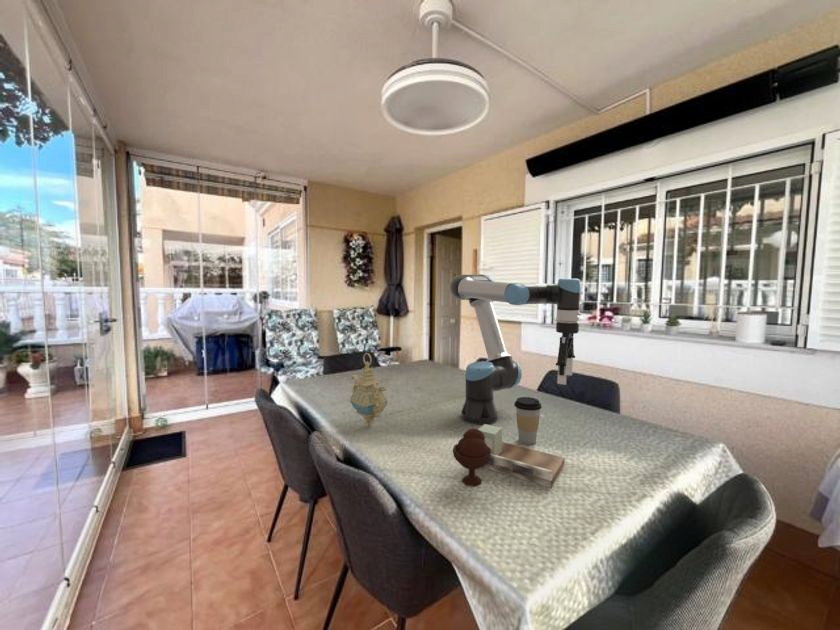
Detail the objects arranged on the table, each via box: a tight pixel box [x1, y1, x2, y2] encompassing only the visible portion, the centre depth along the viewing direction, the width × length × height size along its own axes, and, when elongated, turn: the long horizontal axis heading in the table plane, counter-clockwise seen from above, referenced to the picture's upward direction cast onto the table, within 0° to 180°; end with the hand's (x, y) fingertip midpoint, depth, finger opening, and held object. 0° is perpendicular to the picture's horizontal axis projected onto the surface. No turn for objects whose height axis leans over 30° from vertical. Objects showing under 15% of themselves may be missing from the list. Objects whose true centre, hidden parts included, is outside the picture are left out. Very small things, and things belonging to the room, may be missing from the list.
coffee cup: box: [513, 396, 543, 445], centre depth 128 cm, size 9×9×15 cm
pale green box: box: [477, 424, 503, 455], centre depth 115 cm, size 6×6×8 cm
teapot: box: [349, 352, 388, 428], centre depth 141 cm, size 24×12×30 cm, turn 39°
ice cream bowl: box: [452, 428, 491, 487], centre depth 102 cm, size 11×11×15 cm
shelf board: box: [482, 441, 566, 489], centre depth 112 cm, size 24×16×4 cm
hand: (564, 379), depth 130 cm, fingers open, 13 cm apart
